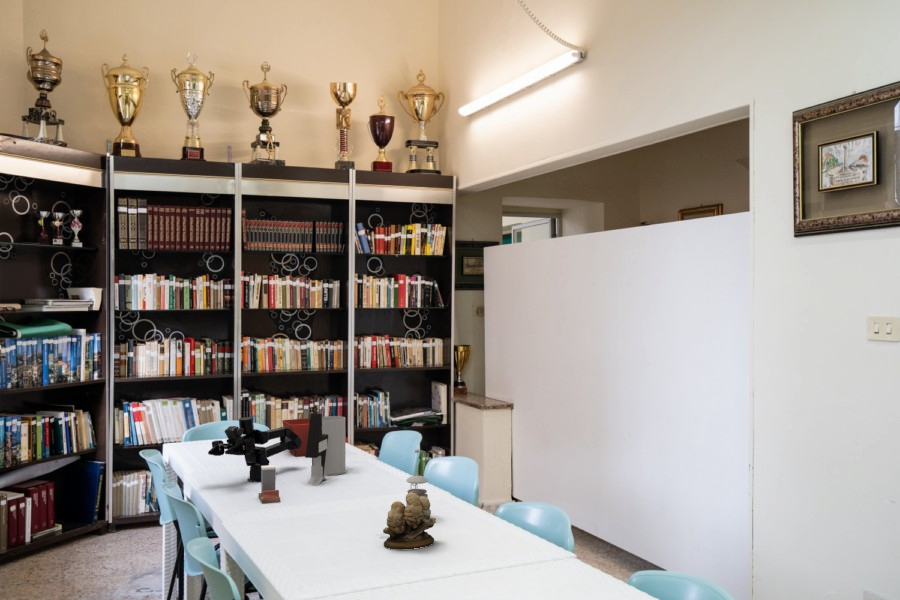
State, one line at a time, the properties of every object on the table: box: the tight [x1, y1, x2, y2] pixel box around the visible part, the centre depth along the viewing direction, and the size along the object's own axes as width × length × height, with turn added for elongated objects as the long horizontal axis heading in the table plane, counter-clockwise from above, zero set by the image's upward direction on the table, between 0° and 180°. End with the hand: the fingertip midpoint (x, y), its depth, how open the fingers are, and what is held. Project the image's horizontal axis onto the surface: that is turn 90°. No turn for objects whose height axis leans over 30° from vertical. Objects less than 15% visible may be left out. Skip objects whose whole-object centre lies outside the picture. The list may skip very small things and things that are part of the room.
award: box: [304, 412, 328, 486], centre depth 347 cm, size 15×5×30 cm, turn 168°
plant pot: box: [281, 417, 310, 457], centre depth 411 cm, size 19×19×17 cm
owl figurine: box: [382, 492, 437, 550], centre depth 260 cm, size 18×12×17 cm, turn 116°
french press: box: [405, 448, 429, 507], centre depth 292 cm, size 10×12×25 cm
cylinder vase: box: [322, 415, 346, 476], centre depth 366 cm, size 12×12×25 cm
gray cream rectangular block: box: [260, 464, 277, 495], centre depth 320 cm, size 4×5×11 cm
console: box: [258, 489, 281, 504], centre depth 317 cm, size 11×7×4 cm, turn 21°
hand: (216, 452), depth 328 cm, fingers open, 9 cm apart
